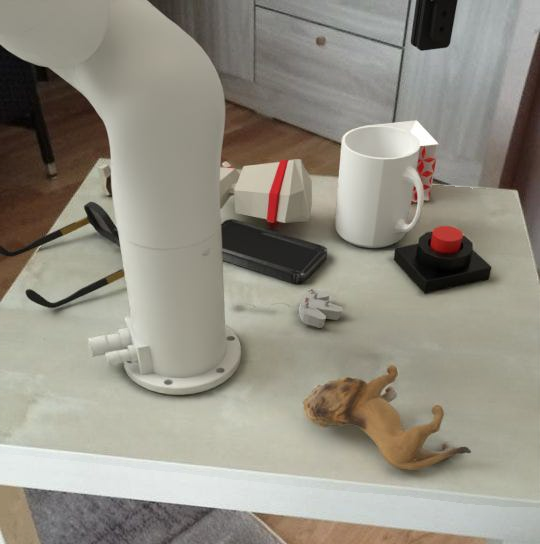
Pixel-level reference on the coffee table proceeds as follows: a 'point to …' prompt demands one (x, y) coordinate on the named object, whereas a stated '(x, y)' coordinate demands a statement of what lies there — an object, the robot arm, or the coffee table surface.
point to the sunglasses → (94, 217)
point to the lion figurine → (377, 419)
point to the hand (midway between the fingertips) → (429, 45)
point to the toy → (259, 190)
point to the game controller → (315, 308)
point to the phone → (270, 251)
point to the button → (446, 239)
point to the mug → (377, 186)
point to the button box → (441, 265)
